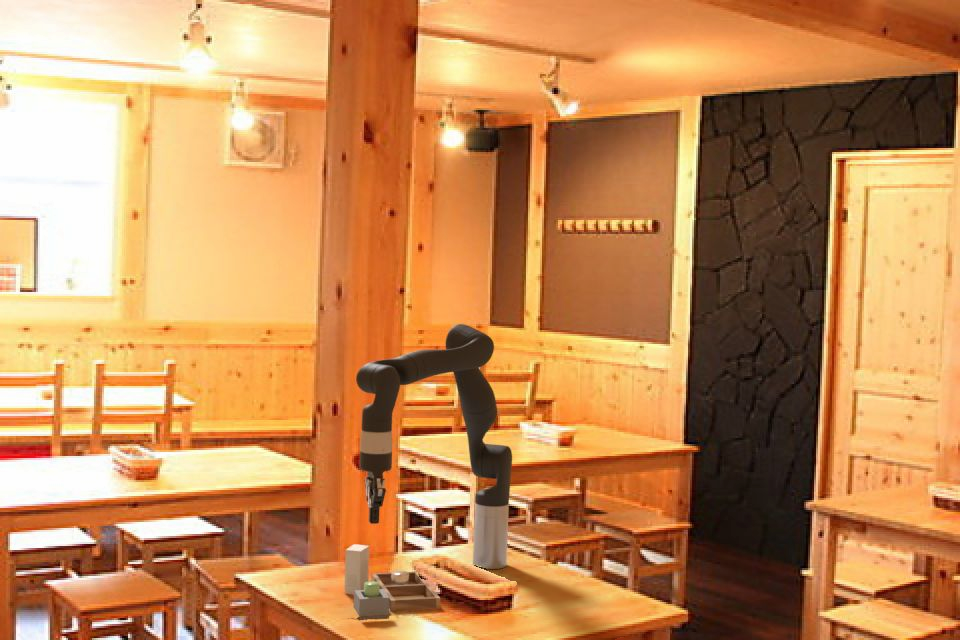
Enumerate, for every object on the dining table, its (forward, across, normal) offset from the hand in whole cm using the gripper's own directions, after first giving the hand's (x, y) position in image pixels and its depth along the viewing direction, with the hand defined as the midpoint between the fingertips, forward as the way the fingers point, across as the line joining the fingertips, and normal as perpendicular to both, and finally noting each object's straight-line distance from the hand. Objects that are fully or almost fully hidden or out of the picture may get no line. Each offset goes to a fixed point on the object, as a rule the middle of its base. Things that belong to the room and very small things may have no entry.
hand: (373, 522), depth 282 cm
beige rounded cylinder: (+21, +16, -10) cm, 28 cm away
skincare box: (+22, +16, 0) cm, 27 cm away
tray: (+22, +10, -10) cm, 27 cm away
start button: (+18, 0, 0) cm, 18 cm away
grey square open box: (+22, 0, 0) cm, 22 cm away
